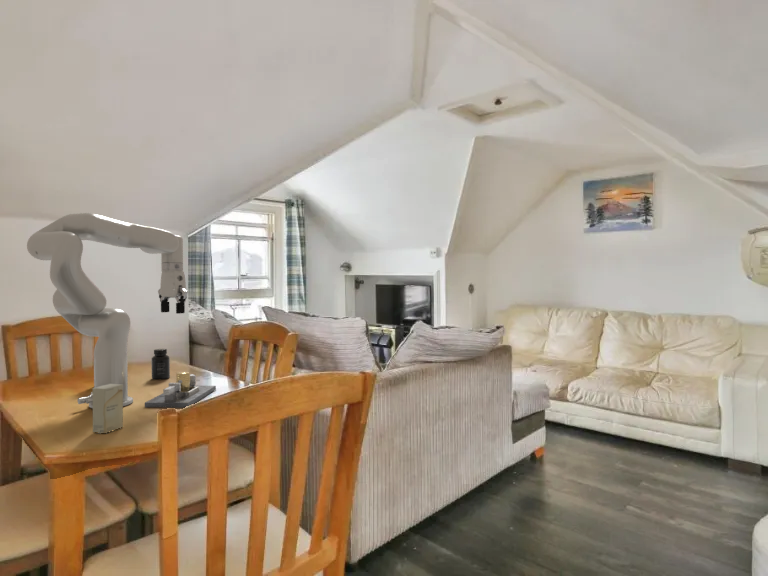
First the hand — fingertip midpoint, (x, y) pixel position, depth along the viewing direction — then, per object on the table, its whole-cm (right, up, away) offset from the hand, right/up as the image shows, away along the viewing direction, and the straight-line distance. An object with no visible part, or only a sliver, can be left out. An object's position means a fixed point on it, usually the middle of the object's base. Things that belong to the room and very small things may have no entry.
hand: (172, 312), depth 180 cm
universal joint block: (+11, -27, -16) cm, 33 cm away
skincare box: (+5, -30, -50) cm, 59 cm away
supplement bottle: (-12, -28, +16) cm, 34 cm away
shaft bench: (+11, -29, -16) cm, 34 cm away
